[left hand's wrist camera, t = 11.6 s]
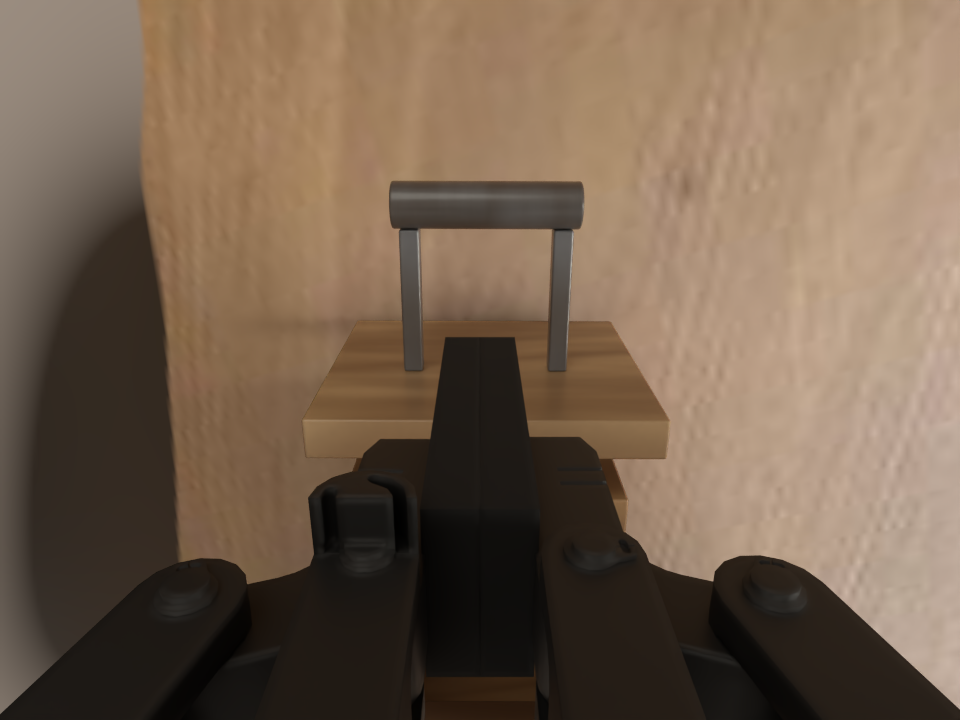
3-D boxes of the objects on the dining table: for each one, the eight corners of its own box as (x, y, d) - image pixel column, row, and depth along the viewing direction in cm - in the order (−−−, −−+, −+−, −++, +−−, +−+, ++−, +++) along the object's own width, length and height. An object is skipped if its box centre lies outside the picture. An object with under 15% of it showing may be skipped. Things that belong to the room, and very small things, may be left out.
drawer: (347, 165, 24) (278, 197, 16) (623, 166, 24) (697, 199, 16) (376, 619, 32) (339, 803, 23) (588, 620, 32) (626, 804, 23)
